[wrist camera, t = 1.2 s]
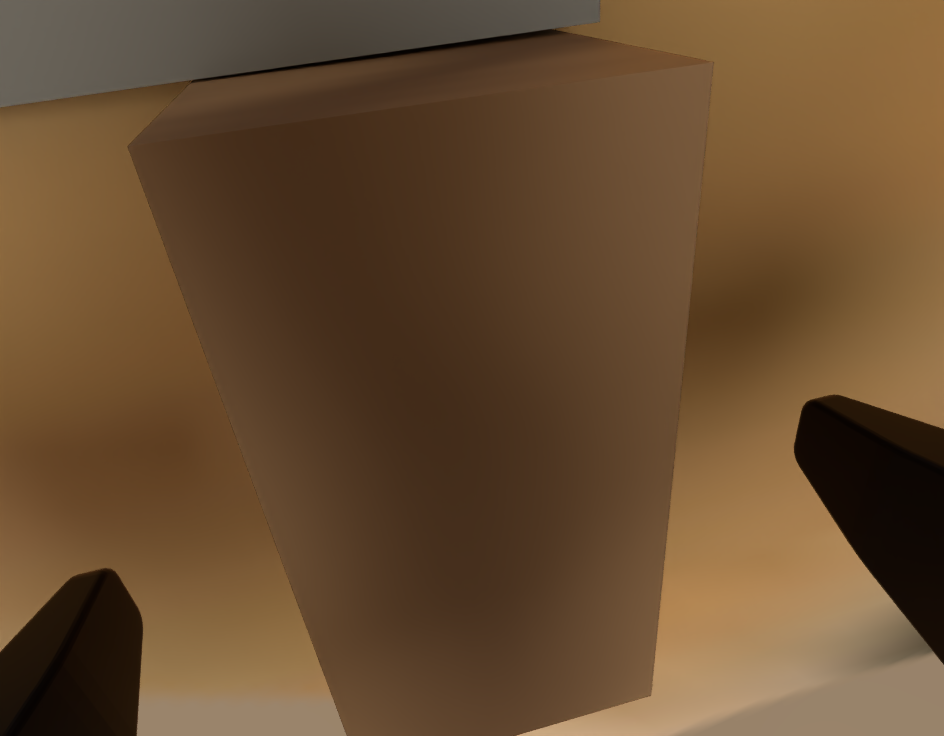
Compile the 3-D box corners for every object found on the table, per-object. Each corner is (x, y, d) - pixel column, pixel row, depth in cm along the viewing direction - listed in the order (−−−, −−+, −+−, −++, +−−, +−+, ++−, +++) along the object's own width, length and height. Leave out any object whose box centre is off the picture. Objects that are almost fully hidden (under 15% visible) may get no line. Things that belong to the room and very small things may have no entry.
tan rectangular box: (538, 26, 10) (714, 61, 6) (554, 499, 15) (650, 695, 11) (203, 69, 9) (126, 145, 5) (343, 550, 15) (363, 780, 10)
